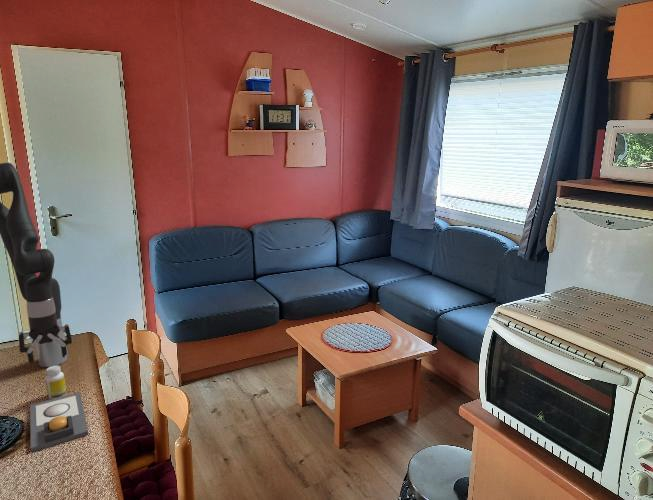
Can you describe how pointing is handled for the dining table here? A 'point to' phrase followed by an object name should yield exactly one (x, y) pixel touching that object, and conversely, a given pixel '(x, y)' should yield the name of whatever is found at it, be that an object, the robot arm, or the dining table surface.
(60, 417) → the button
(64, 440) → the charcoal board
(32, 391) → the dining table surface
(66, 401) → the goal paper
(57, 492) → the dining table surface
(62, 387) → the supplement bottle
